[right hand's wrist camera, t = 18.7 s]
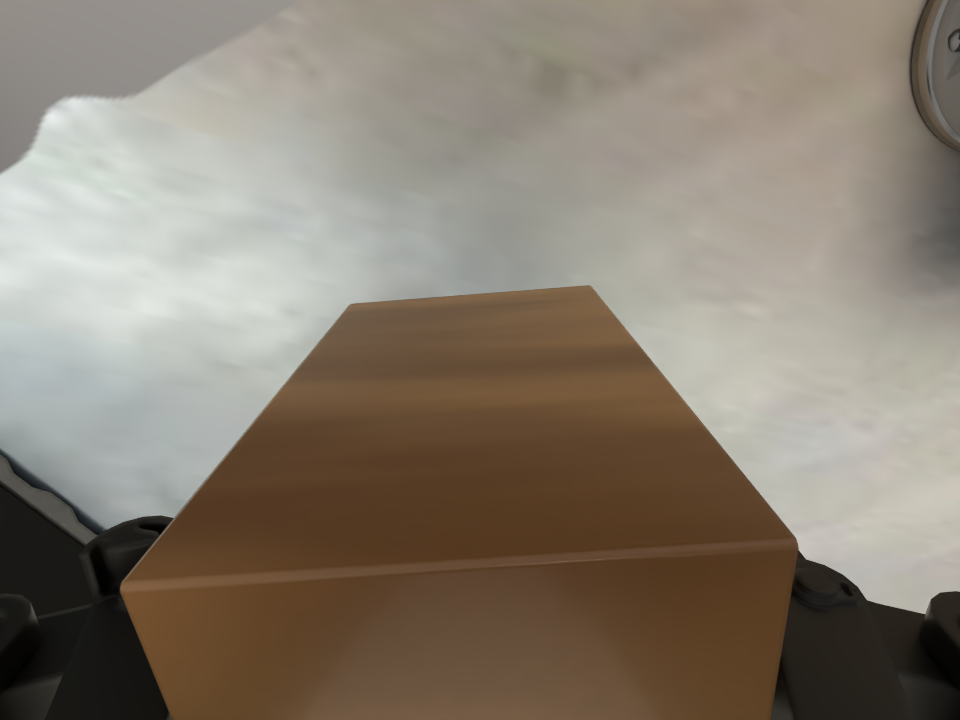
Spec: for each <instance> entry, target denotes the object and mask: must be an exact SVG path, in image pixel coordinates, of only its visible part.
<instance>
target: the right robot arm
mask: <svg viewBox="0 0 960 720" xmlns="http://www.w3.org/2000/svg"><path fill="white" fill-rule="evenodd" d="M912 85H913V91H914V97H915V100H916V104H917V107H918V109H919V111H920V114H921V116H922V118H923V120H924V121H925V123H926V125H927V126H928V127H929V129H930V130H931V131H932V132H933V133H934V134H935V135H936V136H937V138H938V139H940V140H941V141H942V142H944V143H945V144H946V145H948V146H950V147H951V148H953V149H955V150H957V151H960V0H929V2H928V4H927V6H926V8H925V11H924V13H923V16H922V18H921V21H920V24H919V27H918V31H917V34H916V39H915V43H914V48H913V56H912ZM173 519H174V518H170V517H165V516H149V517H141V518H137V519H133V520H130V521H126V522H123V523H121V524H118V525H116V526H114V527H112V528H110V529H108V530H106V531H104V532H102V533H101V534H99V535H98V536H97V537H95V538H94V539H92V540H91V541H90V542H88V543H87V545H86V546H85V547H84V548H83V550H82V551H81V552H80V553H79V558H80V561H81V564H82V567H83V570H84V573H85V576H86V579H87V582H88V586H89V589H90V592H91V595H92V598H93V603H91V604H88V605H84V606H80V607H76V608H71V609H67V610H63V611H58V612H54V613H50V614H45V615H41V616H36V615H35V612H34V610H33V607H32V605H31V602H30V601H29V600H28V599H26V598H25V597H23V596H22V595H16V594H0V720H172V718H171V715H170V713H169V710H168V708H167V706H166V703H165V701H164V698H163V696H162V693H161V691H160V688H159V686H158V684H157V681H156V679H155V676H154V674H153V671H152V669H151V666H150V664H149V662H148V659H147V657H146V654H145V652H144V649H143V647H142V644H141V642H140V640H139V637H138V635H137V632H136V630H135V627H134V625H133V622H132V620H131V618H130V615H129V613H128V610H127V608H126V605H125V603H124V600H123V598H122V596H121V593H120V586H121V583H122V581H123V580H124V579H125V577H126V576H127V575H128V574H129V573H130V571H131V570H132V569H133V568H134V566H135V565H136V564H137V563H138V562H139V560H140V559H141V558H142V557H143V555H144V554H145V553H146V552H147V551H148V549H149V548H150V547H151V546H152V545H153V543H154V542H155V541H156V540H157V538H158V537H159V536H160V535H161V534H162V532H163V531H164V530H165V529H166V527H167V526H168V525H169V524H170V523H171V521H172V520H173ZM770 720H960V592H957V591H954V592H943V593H939V594H938V595H936V596H935V597H934V598H932V599H931V601H930V604H929V606H928V609H927V611H926V614H921V613H917V612H912V611H908V610H903V609H899V608H895V607H890V606H886V605H881V604H877V603H874V602H870V601H867V600H866V598H865V597H864V596H863V594H862V593H861V591H860V590H859V588H858V587H857V586H856V585H855V584H853V583H852V582H851V581H850V580H849V579H847V578H846V577H845V576H844V575H842V574H840V573H838V572H837V571H835V570H833V569H831V568H829V567H827V566H825V565H822V564H819V563H816V562H812V561H809V560H806V559H805V558H804V556H803V555H802V554H801V553H800V551H799V550H798V555H797V561H796V567H795V573H794V579H793V585H792V591H791V597H790V604H789V610H788V616H787V622H786V628H785V634H784V640H783V646H782V652H781V658H780V664H779V670H778V676H777V683H776V689H775V695H774V701H773V707H772V713H771V719H770Z"/></svg>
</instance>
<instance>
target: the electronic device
mask: <svg viewBox="0 0 960 720" xmlns="http://www.w3.org/2000/svg"><path fill="white" fill-rule="evenodd" d="M97 536H98V535H96V534H94V533H93V532H92V531H90V530H89V529H88V528H86V527H85V526H84V525H82V524H81V523H80V522H79V521H78V519H77V517H76V516H75V514H74V512H73V510H72V508H71V507H70V506H68V505H67V504H66V503H64V502H63V501H62V500H60V499H59V498H58V497H56V496H55V495H54V494H52V493H51V492H48V491H44V490H41V489H37V488H33V487H31V486H30V485H29V484H27V483H26V482H25V481H23V480H22V479H21V478H19V477H18V476H17V475H15V474H14V473H13V471H12V469H11V467H10V465H9V463H8V461H7V459H6V458H4V457H3V456H2V455H0V594H16V595H22V596H23V597H25V598H26V599H28V600H29V601H30V602H31V605H32V607H33V610H34V612H35V615H36V616H41V615H45V614H50V613H54V612H58V611H63V610H67V609H71V608H76V607H80V606H84V605H88V604H91V603H93V598H92V595H91V592H90V589H89V586H88V582H87V579H86V576H85V573H84V570H83V567H82V564H81V561H80V558H79V553H80V552H81V551H82V550H83V548H84V547H85V546H86V545H87V543H88V542H90V541H91V540H92V539H94V538H95V537H97Z"/></svg>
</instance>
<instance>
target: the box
mask: <svg viewBox="0 0 960 720" xmlns="http://www.w3.org/2000/svg"><path fill="white" fill-rule="evenodd" d="M798 549H799V548H798V543H797V540H796V538H795V536H794V535H793V534H792V533H791V532H790V530H789V529H788V528H787V527H786V525H785V524H784V523H783V522H782V520H781V519H780V518H779V517H778V516H777V514H776V513H775V512H774V511H773V509H772V508H771V507H770V506H769V504H768V503H767V502H766V501H765V500H764V498H763V497H762V496H761V495H760V493H759V492H758V491H757V490H756V488H755V487H754V486H753V485H752V484H751V482H750V481H749V480H748V479H747V477H746V476H745V475H744V474H743V472H742V471H741V470H740V469H739V468H738V466H737V465H736V464H735V463H734V461H733V460H732V459H731V458H730V456H729V455H728V454H727V453H726V452H725V450H724V449H723V448H722V447H721V445H720V444H719V443H718V442H717V440H716V439H715V438H714V437H713V436H712V434H711V433H710V432H709V431H708V429H707V428H706V427H705V426H704V424H703V423H702V422H701V421H700V420H699V418H698V417H697V416H696V415H695V413H694V412H693V411H692V410H691V408H690V407H689V406H688V405H687V404H686V402H685V401H684V400H683V399H682V397H681V396H680V395H679V394H678V392H677V391H676V390H675V389H674V388H673V386H672V385H671V384H670V383H669V381H668V380H667V379H666V378H665V376H664V375H663V374H662V373H661V372H660V370H659V369H658V368H657V367H656V365H655V364H654V363H653V362H652V361H651V359H650V358H649V357H648V356H647V354H646V353H645V352H644V351H643V349H642V348H641V347H640V346H639V345H638V343H637V342H636V341H635V340H634V338H633V337H632V336H631V335H630V333H629V332H628V331H627V330H626V329H625V327H624V326H623V325H622V324H621V322H620V321H619V320H618V319H617V317H616V316H615V315H614V314H613V313H612V311H611V310H610V309H609V308H608V306H607V305H606V304H605V303H604V301H603V300H602V299H601V298H600V297H599V295H598V294H597V293H596V292H595V290H594V289H593V288H592V287H591V286H589V285H588V286H575V287H562V288H549V289H537V290H524V291H511V292H498V293H485V294H472V295H459V296H446V297H434V298H421V299H408V300H395V301H382V302H369V303H356V304H350V305H349V306H348V307H347V309H346V310H345V311H344V312H343V313H342V315H341V316H340V317H339V318H338V319H337V321H336V322H335V323H334V324H333V326H332V327H331V328H330V329H329V330H328V332H327V333H326V334H325V335H324V337H323V338H322V339H321V340H320V341H319V343H318V344H317V345H316V346H315V347H314V349H313V350H312V351H311V352H310V354H309V355H308V356H307V357H306V358H305V360H304V361H303V362H302V363H301V364H300V366H299V367H298V368H297V369H296V371H295V372H294V373H293V374H292V375H291V377H290V378H289V379H288V380H287V382H286V383H285V384H284V385H283V386H282V388H281V389H280V390H279V391H278V392H277V394H276V395H275V396H274V397H273V399H272V400H271V401H270V402H269V403H268V405H267V406H266V407H265V408H264V409H263V411H262V412H261V413H260V414H259V416H258V417H257V418H256V419H255V420H254V422H253V423H252V424H251V425H250V427H249V428H248V429H247V430H246V431H245V433H244V434H243V435H242V436H241V437H240V439H239V440H238V441H237V442H236V444H235V445H234V446H233V447H232V448H231V450H230V451H229V452H228V453H227V455H226V456H225V457H224V458H223V459H222V461H221V462H220V463H219V464H218V465H217V467H216V468H215V469H214V470H213V472H212V473H211V474H210V475H209V476H208V478H207V479H206V480H205V481H204V482H203V484H202V485H201V486H200V487H199V489H198V490H197V491H196V492H195V493H194V495H193V496H192V497H191V498H190V500H189V501H188V502H187V503H186V504H185V506H184V507H183V508H182V509H181V510H180V512H179V513H178V514H177V515H176V517H175V518H174V519H173V520H172V521H171V523H170V524H169V525H168V526H167V527H166V529H165V530H164V531H163V532H162V534H161V535H160V536H159V537H158V538H157V540H156V541H155V542H154V543H153V545H152V546H151V547H150V548H149V549H148V551H147V552H146V553H145V554H144V555H143V557H142V558H141V559H140V560H139V562H138V563H137V564H136V565H135V566H134V568H133V569H132V570H131V571H130V573H129V574H128V575H127V576H126V577H125V579H124V580H123V581H122V583H121V586H120V593H121V596H122V598H123V600H124V603H125V605H126V608H127V610H128V613H129V615H130V618H131V620H132V622H133V625H134V627H135V630H136V632H137V635H138V637H139V640H140V642H141V644H142V647H143V649H144V652H145V654H146V657H147V659H148V662H149V664H150V666H151V669H152V671H153V674H154V676H155V679H156V681H157V684H158V686H159V688H160V691H161V693H162V696H163V698H164V701H165V703H166V706H167V708H168V710H169V713H170V715H171V718H172V720H770V719H771V713H772V707H773V701H774V695H775V689H776V683H777V676H778V670H779V664H780V658H781V652H782V646H783V640H784V634H785V628H786V622H787V616H788V610H789V604H790V597H791V591H792V585H793V579H794V573H795V567H796V561H797V555H798Z"/></svg>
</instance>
